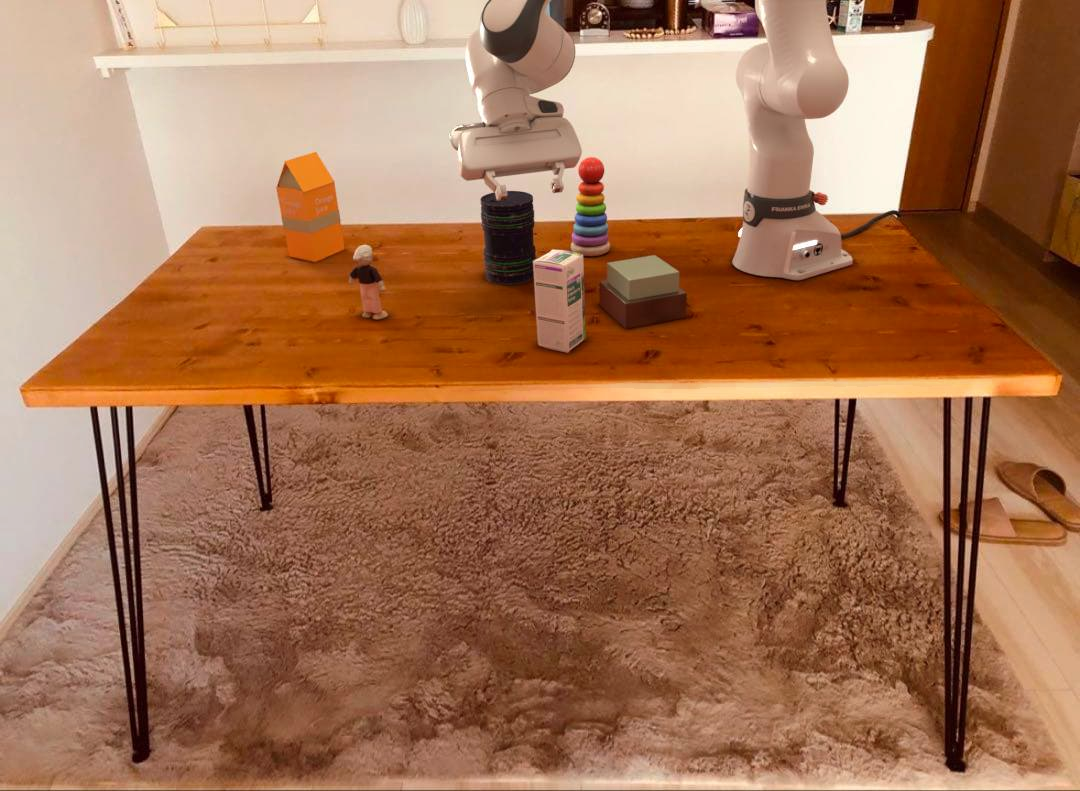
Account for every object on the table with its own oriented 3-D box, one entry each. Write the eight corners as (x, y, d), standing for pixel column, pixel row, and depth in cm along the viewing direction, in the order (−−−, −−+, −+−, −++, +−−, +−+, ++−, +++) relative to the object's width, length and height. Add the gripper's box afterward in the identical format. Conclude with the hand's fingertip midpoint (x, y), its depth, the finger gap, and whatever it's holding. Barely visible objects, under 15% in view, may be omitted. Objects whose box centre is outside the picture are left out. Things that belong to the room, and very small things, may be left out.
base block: (656, 295, 151) (656, 271, 148) (685, 317, 142) (687, 292, 139) (599, 305, 148) (599, 281, 145) (625, 329, 138) (626, 303, 136)
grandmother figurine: (397, 313, 148) (388, 243, 142) (387, 321, 145) (377, 250, 139) (358, 308, 150) (348, 240, 144) (347, 317, 147) (336, 247, 141)
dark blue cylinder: (524, 262, 168) (520, 187, 160) (545, 278, 160) (542, 200, 153) (477, 272, 164) (471, 195, 157) (497, 288, 156) (491, 208, 149)
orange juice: (288, 256, 176) (270, 159, 166) (318, 243, 183) (302, 149, 173) (315, 262, 172) (298, 163, 163) (345, 249, 179) (331, 153, 169)
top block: (654, 274, 147) (654, 254, 146) (678, 291, 140) (679, 271, 138) (606, 282, 145) (606, 262, 143) (629, 300, 137) (629, 280, 136)
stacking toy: (607, 258, 168) (607, 163, 159) (567, 257, 170) (565, 162, 161) (612, 245, 175) (613, 153, 166) (574, 244, 176) (572, 153, 167)
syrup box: (568, 353, 131) (566, 265, 124) (536, 346, 134) (532, 259, 127) (586, 339, 135) (585, 253, 128) (554, 332, 138) (552, 247, 131)
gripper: (449, 114, 132) (470, 192, 129) (571, 102, 138) (594, 176, 134) (444, 138, 138) (465, 213, 135) (561, 125, 144) (584, 197, 140)
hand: (530, 194), depth 135 cm, fingers open, 8 cm apart
